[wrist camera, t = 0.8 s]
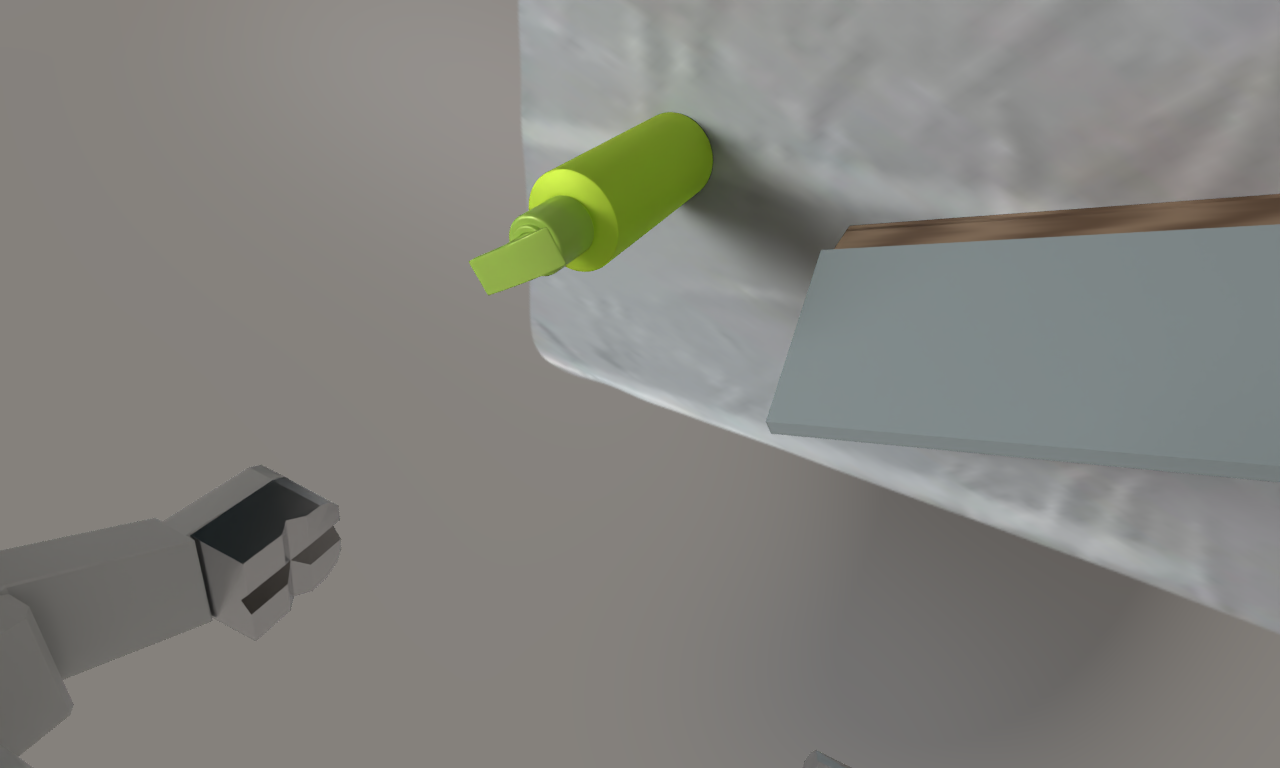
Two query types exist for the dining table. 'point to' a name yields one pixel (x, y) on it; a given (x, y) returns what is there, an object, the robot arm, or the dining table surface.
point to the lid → (1049, 350)
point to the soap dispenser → (601, 202)
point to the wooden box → (1071, 222)
